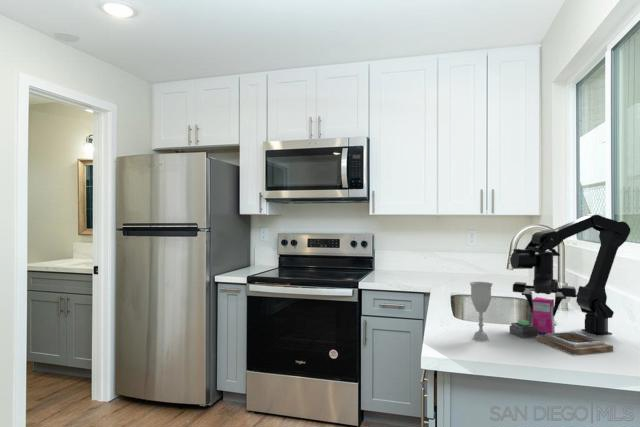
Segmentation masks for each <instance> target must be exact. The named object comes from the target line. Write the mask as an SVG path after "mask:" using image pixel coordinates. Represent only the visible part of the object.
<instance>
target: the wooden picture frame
mask: <svg viewBox="0 0 640 427" xmlns="http://www.w3.org/2000/svg"><path fill="white" fill-rule="evenodd" d="M536 340H537V342H540V341H541V343H543V342H544V343H543V344H545V343H546V345H548V344H549V345H548V346H550V345H551V347H553V346H554V348H555V347H557V348H556V349H558V348H559V349H558V350H561V349H562V350H561V351H563V350H565V351H564V352H566V351H567V352H566V353H568V352H570V353H569V354H571V353H572V354H571V355H573V354H579V355H585V354H586V355H589V354H596V353H607V352H614V345H611V344H608V343H606V342H605V341H604V340H601V339H598V338H594V337H592V336H589V335H585V334H583V333H579V332H576V331H573V330H572V331H561V332H554V333H546V334H540V335H539V334H538V336H537V337H536ZM573 341H575V342H573Z"/></svg>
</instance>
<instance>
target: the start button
mask: <svg viewBox="0 0 640 427" xmlns="http://www.w3.org/2000/svg"><path fill="white" fill-rule="evenodd" d="M517 323H518V325H521V326H529V324H530V321H528V320H526V319H519V320H517Z"/></svg>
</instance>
